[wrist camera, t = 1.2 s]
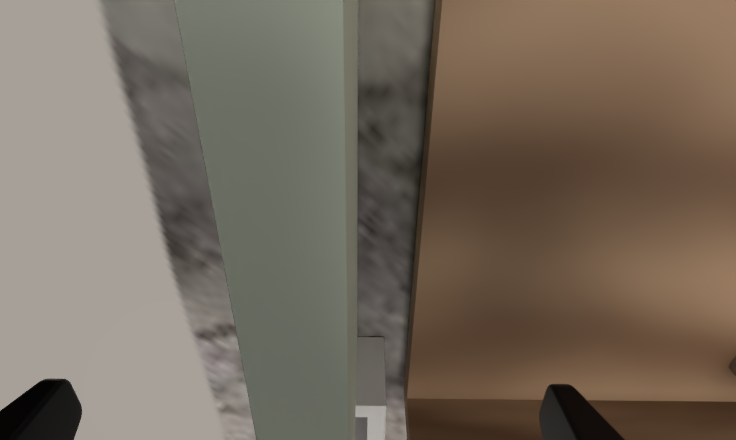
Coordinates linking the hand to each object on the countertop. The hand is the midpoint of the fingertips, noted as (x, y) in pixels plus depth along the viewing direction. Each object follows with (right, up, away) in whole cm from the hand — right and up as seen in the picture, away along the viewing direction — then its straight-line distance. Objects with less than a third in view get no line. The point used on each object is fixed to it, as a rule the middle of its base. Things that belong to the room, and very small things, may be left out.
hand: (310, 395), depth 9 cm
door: (0, +3, +6) cm, 7 cm away
